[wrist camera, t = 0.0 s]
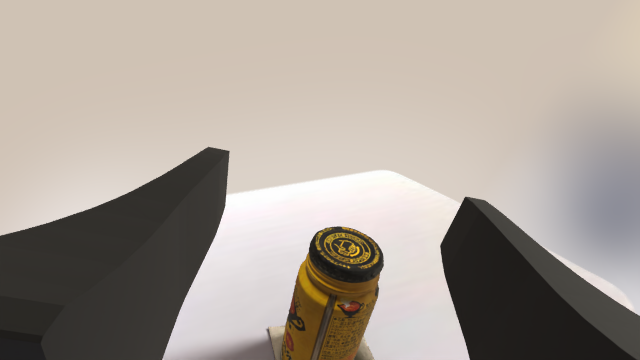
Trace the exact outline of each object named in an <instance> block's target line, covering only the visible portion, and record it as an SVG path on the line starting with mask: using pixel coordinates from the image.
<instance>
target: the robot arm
mask: <svg viewBox="0 0 640 360" xmlns="http://www.w3.org/2000/svg"><path fill="white" fill-rule="evenodd" d="M228 162H229V151H226V150H221V149H216V148H211V147H208V148H206V149H204V150H203V151H201V152H199V153H198V154H196V155H195V156H193V157H191V158H190V159H188V160H187V161H185V162H183V163H182V164H180V165H179V166H177V167H175V168H174V169H172V170H170V171H169V172H167V173H165V174H164V175H162V176H160V177H158V178H156V179H154V180H152V181H150V182H149V183H147V184H145V185H143V186H141V187H139V188H137V189H135V190H133V191H131V192H129V193H127V194H125V195H122V196H120V197H118V198H116V199H113V200H111V201H109V202H106V203H104V204H101V205H99V206H97V207H94V208H92V209H88V210H85V211H83V212H79V213H76V214H73V215H70V216H68V217H65V218H62V219H59V220H56V221H53V222H50V223H46V224H43V225H40V226H36V227H32V228H29V229H25V230H21V231H17V232H13V233H10V234H6V235H1V236H0V360H162V358H163V356H164V353H165V350H166V347H167V344H168V341H169V339H170V336H171V333H172V330H173V328H174V325H175V322H176V319H177V317H178V314H179V311H180V309H181V307H182V304H183V302H184V300H185V297H186V295H187V293H188V291H189V289H190V287H191V285H192V283H193V281H194V279H195V277H196V275H197V273H198V271H199V268H200V266H201V264H202V262H203V260H204V258H205V256H206V254H207V252H208V250H209V248H210V246H211V244H212V242H213V239H214V237H215V235H216V233H217V230H218V227H219V224H220V221H221V218H222V215H223V212H224V208H225V202H226V189H227V176H228ZM440 248H441V255H442V263H443V268H444V274H445V278H446V281H447V285H448V288H449V291H450V295H451V298H452V301H453V304H454V307H455V311H456V314H457V317H458V320H459V323H460V326H461V330H462V333H463V336H464V339H465V342H466V346H467V350H468V354H469V358H470V360H640V316H639V315H637V314H635V313H634V312H632V311H630V310H629V309H627V308H626V307H624V306H623V305H621V304H619V303H618V302H616V301H615V300H613V299H612V298H610V297H609V296H607V295H606V294H604V293H603V292H601V291H600V290H599V289H597V288H596V287H594V286H593V285H591V284H590V283H588V282H587V281H586V280H584V279H583V278H581V277H580V276H579V275H577V274H576V273H575V272H573V271H572V270H571V269H569V268H568V267H567V266H566V265H564V264H563V263H562V262H560V261H559V260H558V259H556V258H555V257H554V256H553V255H551V254H550V253H549V252H548V251H547V250H545V249H544V248H543V247H542V246H540V245H539V244H538V243H537V242H536V241H534V240H533V239H532V238H531V237H530V236H528V235H527V234H526V233H525V232H524V231H523V230H521V229H520V228H519V227H518V226H516V225H515V224H514V223H513V222H512V221H511V220H510V219H508V218H507V217H506V216H505V215H504V214H502V213H501V212H499V210H497V209H496V208H495V207H493V206H492V205H491V204H489V203H488V202H486V201H485V200H480V199H475V198H470V197H465V198H464V200H463V202H462V204H461V206H460V208H459V210H458V212H457V214H456V216H455V218H454V220H453V222H452V224H451V226H450V227H449V229H448V231H447V233H446V235H445V237H444V239H443V241H442V243H441V245H440Z"/></svg>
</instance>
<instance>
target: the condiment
mask: <svg viewBox="0 0 640 360" xmlns="http://www.w3.org/2000/svg"><path fill="white" fill-rule="evenodd" d="M383 262H384V260H383V253H382V251H381V249H380V248H379V246H378V244H377V243H376V242H375V241H374V240H373V239H372V238H370V237H368V236H367V235H365V234H363V233H361V232H359V231H357V230H355V229H351V228H347V227H330V228H325V229H323V230H321V231H318V232H317V233H316V234H315V235H314V237H313V239H312V241H311V243H310V247H309V253H308V254H307V257H306V260H305V261H304V262H303V263H302V264H301V266H300V268H299V272H298V276H297V279H296V285H295V289H294V293H293V298H292V302H291V306H290V310H289V314H288V317H287V322H286V325H285V326H280V327H269V332H270V336H271V341H272V346H273V351H274V355H275V360H374V358H373V356H372V353H371V351H370V349H369V347H368V346H367V343H366V341H365V338H364V336H363V335H364V332H365V330H366V327H367V324H368V322H369V319H370V316H371V314H372V311H373V309H374V306H375V303H376V301H377V298H378V292H379V287H378V281H379V276H380V272H381V270H382V268H383V266H384V264H383Z"/></svg>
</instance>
